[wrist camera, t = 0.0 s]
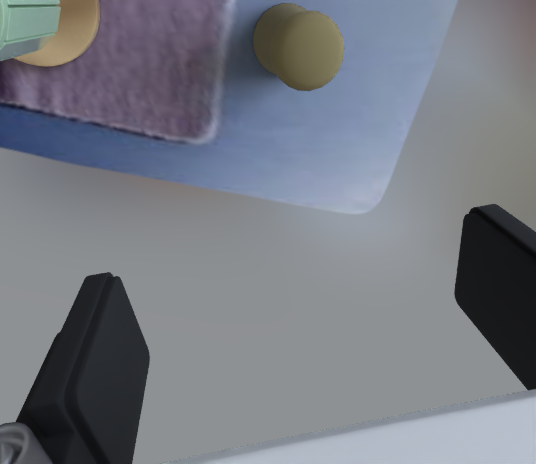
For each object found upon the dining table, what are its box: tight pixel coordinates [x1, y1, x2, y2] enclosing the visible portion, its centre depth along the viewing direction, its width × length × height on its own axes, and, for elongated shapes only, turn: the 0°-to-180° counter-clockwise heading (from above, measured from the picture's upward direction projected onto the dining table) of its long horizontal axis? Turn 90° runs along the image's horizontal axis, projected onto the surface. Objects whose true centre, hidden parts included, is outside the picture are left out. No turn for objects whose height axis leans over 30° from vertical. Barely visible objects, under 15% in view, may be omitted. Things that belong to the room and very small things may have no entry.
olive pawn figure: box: [253, 3, 344, 91], centre depth 32 cm, size 6×6×11 cm
